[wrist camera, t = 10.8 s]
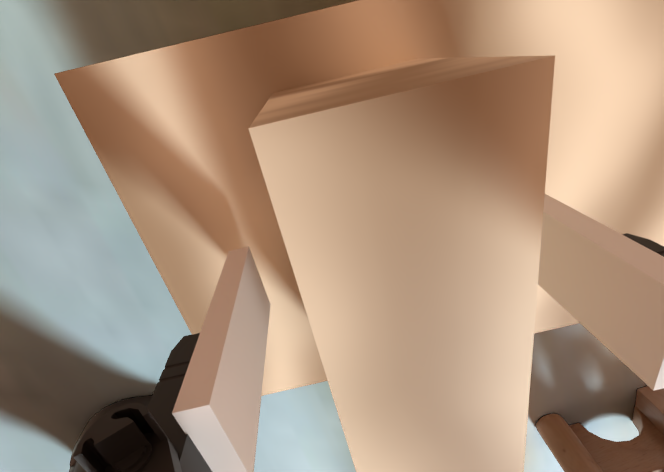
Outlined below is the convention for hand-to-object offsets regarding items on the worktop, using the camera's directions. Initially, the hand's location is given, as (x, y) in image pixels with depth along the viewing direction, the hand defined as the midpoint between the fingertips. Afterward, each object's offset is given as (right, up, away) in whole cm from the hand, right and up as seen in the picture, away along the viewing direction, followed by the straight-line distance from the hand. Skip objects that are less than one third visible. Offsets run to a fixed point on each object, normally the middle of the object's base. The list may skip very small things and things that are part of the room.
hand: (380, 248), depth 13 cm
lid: (+4, +2, +3) cm, 5 cm away
